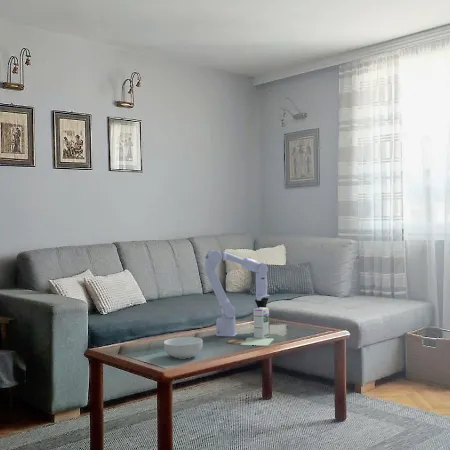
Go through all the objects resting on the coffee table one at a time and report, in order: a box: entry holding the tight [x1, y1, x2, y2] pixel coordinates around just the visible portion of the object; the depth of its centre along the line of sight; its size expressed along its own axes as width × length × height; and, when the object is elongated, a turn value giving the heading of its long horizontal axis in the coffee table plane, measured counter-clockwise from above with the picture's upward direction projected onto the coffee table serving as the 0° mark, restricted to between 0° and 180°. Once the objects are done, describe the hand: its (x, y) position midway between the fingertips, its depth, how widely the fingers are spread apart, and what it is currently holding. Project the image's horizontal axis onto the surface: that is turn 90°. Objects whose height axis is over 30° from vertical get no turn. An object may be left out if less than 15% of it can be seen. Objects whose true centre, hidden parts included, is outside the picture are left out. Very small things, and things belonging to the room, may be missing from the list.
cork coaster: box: [227, 338, 245, 345], centre depth 277 cm, size 8×8×1 cm
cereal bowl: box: [163, 336, 204, 360], centre depth 249 cm, size 17×17×7 cm
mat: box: [239, 337, 275, 347], centre depth 276 cm, size 13×16×1 cm
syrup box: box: [252, 306, 271, 338], centre depth 287 cm, size 6×6×14 cm
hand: (262, 312), depth 298 cm, fingers open, 4 cm apart
